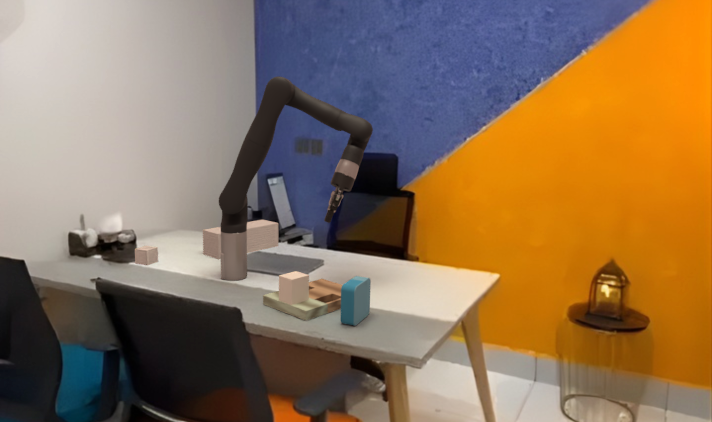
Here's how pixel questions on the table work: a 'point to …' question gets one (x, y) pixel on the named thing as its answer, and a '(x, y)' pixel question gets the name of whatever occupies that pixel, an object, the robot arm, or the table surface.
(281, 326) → the table surface
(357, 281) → the data package
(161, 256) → the table surface
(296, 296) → the block
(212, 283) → the table surface
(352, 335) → the table surface
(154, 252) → the pale pink cube
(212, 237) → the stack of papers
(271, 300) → the board
